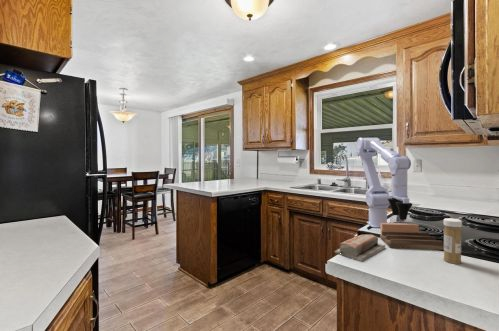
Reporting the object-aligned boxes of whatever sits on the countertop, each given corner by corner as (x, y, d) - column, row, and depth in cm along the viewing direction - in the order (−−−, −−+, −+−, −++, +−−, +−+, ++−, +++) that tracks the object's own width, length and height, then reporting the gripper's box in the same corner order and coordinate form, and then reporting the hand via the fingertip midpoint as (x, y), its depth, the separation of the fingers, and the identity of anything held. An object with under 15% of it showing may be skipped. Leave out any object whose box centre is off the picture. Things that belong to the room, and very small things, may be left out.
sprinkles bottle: (464, 265, 78) (464, 221, 78) (446, 263, 80) (446, 220, 79) (457, 259, 83) (458, 218, 82) (440, 257, 84) (441, 217, 84)
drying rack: (380, 238, 104) (380, 230, 104) (428, 239, 101) (428, 232, 101) (389, 247, 94) (389, 239, 94) (444, 250, 90) (444, 241, 90)
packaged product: (361, 248, 82) (334, 240, 90) (361, 263, 82) (334, 254, 90) (385, 236, 94) (359, 230, 101) (385, 249, 94) (359, 242, 101)
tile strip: (380, 234, 110) (380, 222, 110) (416, 235, 108) (416, 223, 107) (382, 235, 108) (382, 224, 108) (418, 237, 105) (418, 225, 105)
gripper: (383, 183, 115) (383, 213, 115) (395, 187, 100) (395, 221, 101) (400, 183, 113) (400, 213, 114) (415, 187, 99) (415, 221, 100)
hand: (399, 217), depth 107 cm, fingers open, 7 cm apart
